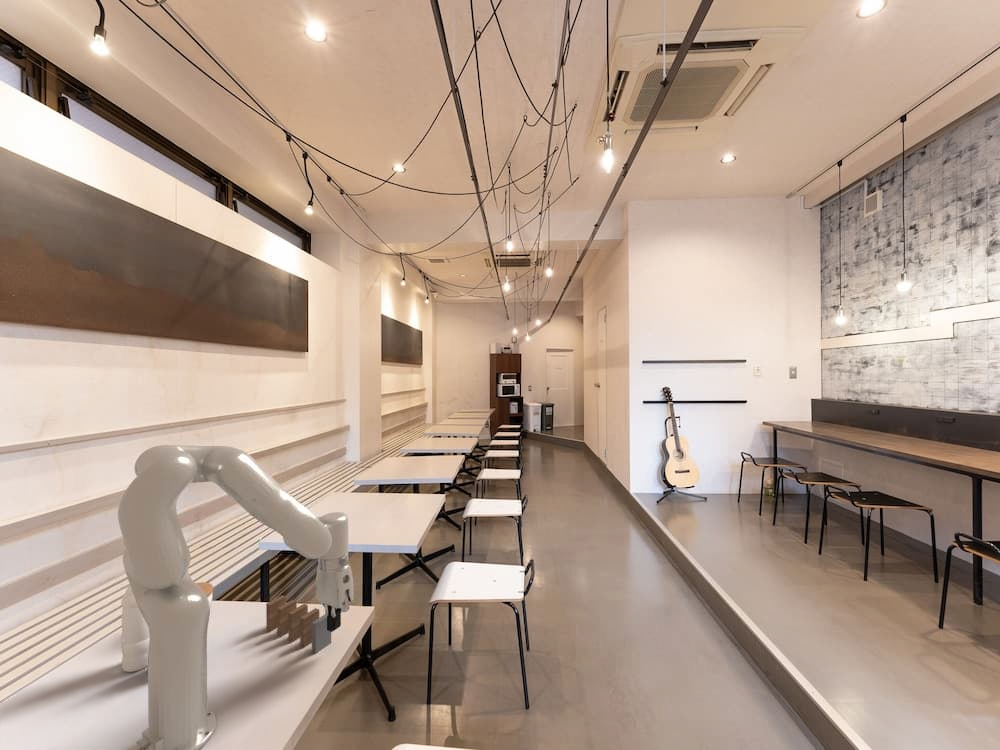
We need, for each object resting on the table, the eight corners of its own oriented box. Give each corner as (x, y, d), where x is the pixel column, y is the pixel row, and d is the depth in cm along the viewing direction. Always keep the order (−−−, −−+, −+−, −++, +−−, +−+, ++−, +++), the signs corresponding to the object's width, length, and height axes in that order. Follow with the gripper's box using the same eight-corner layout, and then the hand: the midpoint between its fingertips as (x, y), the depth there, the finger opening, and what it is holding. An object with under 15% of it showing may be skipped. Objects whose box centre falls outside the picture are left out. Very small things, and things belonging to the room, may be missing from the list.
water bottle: (116, 667, 104) (116, 570, 104) (150, 651, 111) (149, 559, 111) (129, 677, 101) (128, 576, 101) (163, 659, 107) (162, 565, 107)
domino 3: (307, 632, 118) (307, 605, 118) (292, 642, 114) (291, 614, 114) (304, 630, 119) (304, 603, 119) (288, 640, 115) (288, 612, 115)
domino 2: (296, 627, 121) (296, 600, 121) (280, 637, 116) (280, 609, 116) (293, 626, 121) (292, 599, 121) (277, 635, 117) (277, 607, 117)
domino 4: (319, 637, 116) (319, 609, 116) (304, 648, 112) (303, 619, 112) (315, 635, 117) (315, 608, 117) (300, 646, 112) (299, 617, 112)
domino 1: (285, 622, 123) (285, 596, 123) (269, 632, 119) (269, 604, 118) (282, 621, 124) (282, 595, 124) (266, 630, 119) (266, 603, 119)
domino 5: (331, 642, 114) (331, 614, 114) (315, 653, 109) (315, 624, 109) (327, 641, 114) (327, 612, 114) (311, 652, 110) (311, 622, 110)
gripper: (364, 560, 109) (364, 628, 109) (326, 549, 116) (326, 613, 116) (341, 572, 103) (342, 645, 103) (303, 560, 110) (303, 628, 110)
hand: (333, 628), depth 110 cm, fingers closed
